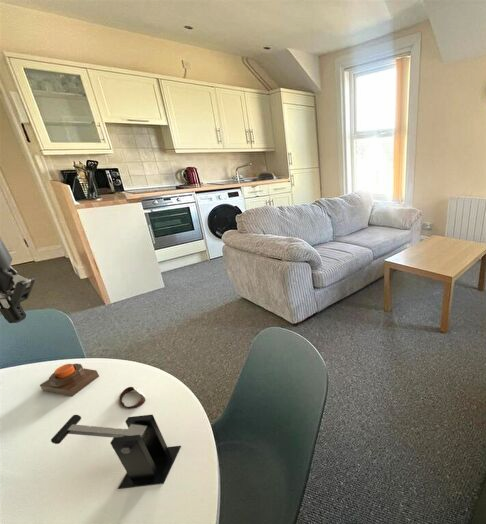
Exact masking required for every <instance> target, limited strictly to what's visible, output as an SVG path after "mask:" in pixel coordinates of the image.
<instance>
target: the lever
mask: <svg viewBox="0 0 486 524" xmlns="http://www.w3.org/2000/svg"><path fill="white" fill-rule="evenodd" d="M81 420H82V416H81V415H79V414H73V415H72V416H71V417H70V418H69V419H68V420H67V421H66V423H65V424H63V426H62V427H61V428H60V429H59V430H58V431H57V432H56V433H55V434H54V435H53V437H52V438H51V439H50V442H51V443H52V444H55V445H58V444H61V443H62V442H63V441H64V440H65V438H66V437H67V436H68V435H77V436H88V437H101V438H112V439H113V438H114V437H123V436H132V435H140V436H141V438H142V440H143V441H144V439H145V437H146V436H147V425H136V424H131V425H130V426H129V428H128V427H127V428H118V427H106V426H95V425H83V424H78V423H79V422H80V421H81Z"/></svg>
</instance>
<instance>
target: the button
mask: <svg viewBox="0 0 486 524" xmlns="http://www.w3.org/2000/svg"><path fill="white" fill-rule="evenodd" d="M72 364H73V363H66V364H63V365H61V366H59V367H57V368H55V370H54V371H53V373H55V375H56V377H57V378H58V379H60V378H64V377H66V376H68V375H70V374H72V373H73V372H74V371H75V368H74V367H73V365H72Z"/></svg>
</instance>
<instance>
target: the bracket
mask: <svg viewBox="0 0 486 524" xmlns="http://www.w3.org/2000/svg"><path fill="white" fill-rule="evenodd" d="M131 424H136V425H147V436H146V437H145V439H144V441H143V440H142V438H141V436H140V435H132V436H123V437H114V438H112V439H111V441H110V445H111V447H112V449H113V450H114V452H115V454H116V456H117V458H118V460H119V461H120V463H121V464H122V466H123V469H124V470H125V472H126V474H125V475H124V477H123V479H122V480H121V482H120V484H119V485H118V487H117V489H118V490H122V489H131V488H140V487H148V486H155V485H157V486H158V485H164V484H165V482H166V480H167V478H168V476H169V474H170V471H171V469H172V467H173V465H174V463H175V461H176V458H177V457H178V454H179V453H180V450H181V448H182V445H174V446H168V445H167V443H166V441H165V439H164V437H163V434H162V432H161V429H160V428H159V425H158V423H157V421H156V418H155V417H154V414H144V415H136V416H135V415H134V416H128V417H127V418H126V420H125V425H126V426H127V429H128V428H129V426H130V425H131Z"/></svg>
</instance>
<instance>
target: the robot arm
mask: <svg viewBox="0 0 486 524" xmlns="http://www.w3.org/2000/svg"><path fill="white" fill-rule="evenodd" d="M12 261H13V257H12V256H11V254H10V252H9V250H8V249H7V247H6V245H5V243H4V241H3V239H2V238H1V237H0V313H1V315H2V317H3V318H4V320H6V321H7V322H8V323H9V324H16V323H21V322H23V321H24V320H25V319H26V317H27V313H26V311H25V309H24V308H23V307H22V305H21V303H23V302H24V301H26V300H28V299H29V297H30V294H31V292H32V290H33V287H34V283H35V281H36V280H35V278H34V277H32V276H28V277H23V276H21V275H19V272H18V271H17V270H16V269H15V268H14V267H13V266H12Z"/></svg>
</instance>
